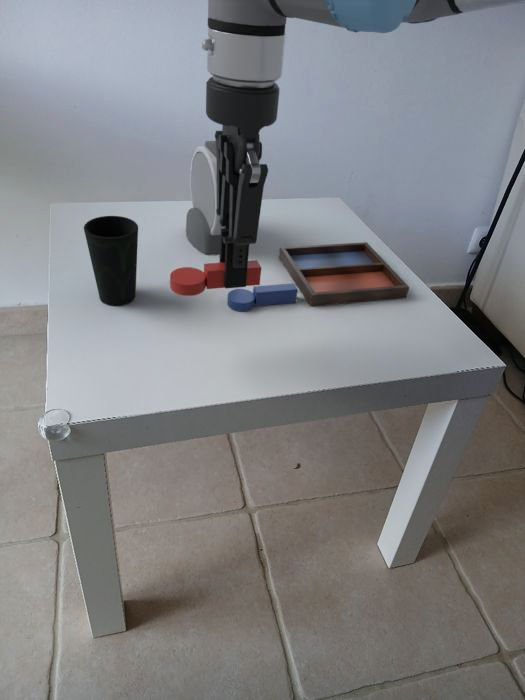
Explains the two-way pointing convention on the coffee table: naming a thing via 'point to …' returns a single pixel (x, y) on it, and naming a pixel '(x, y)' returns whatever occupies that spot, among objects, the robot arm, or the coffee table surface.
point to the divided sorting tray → (341, 273)
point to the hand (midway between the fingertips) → (232, 280)
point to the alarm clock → (204, 201)
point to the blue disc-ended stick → (262, 296)
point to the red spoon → (208, 278)
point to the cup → (113, 257)
